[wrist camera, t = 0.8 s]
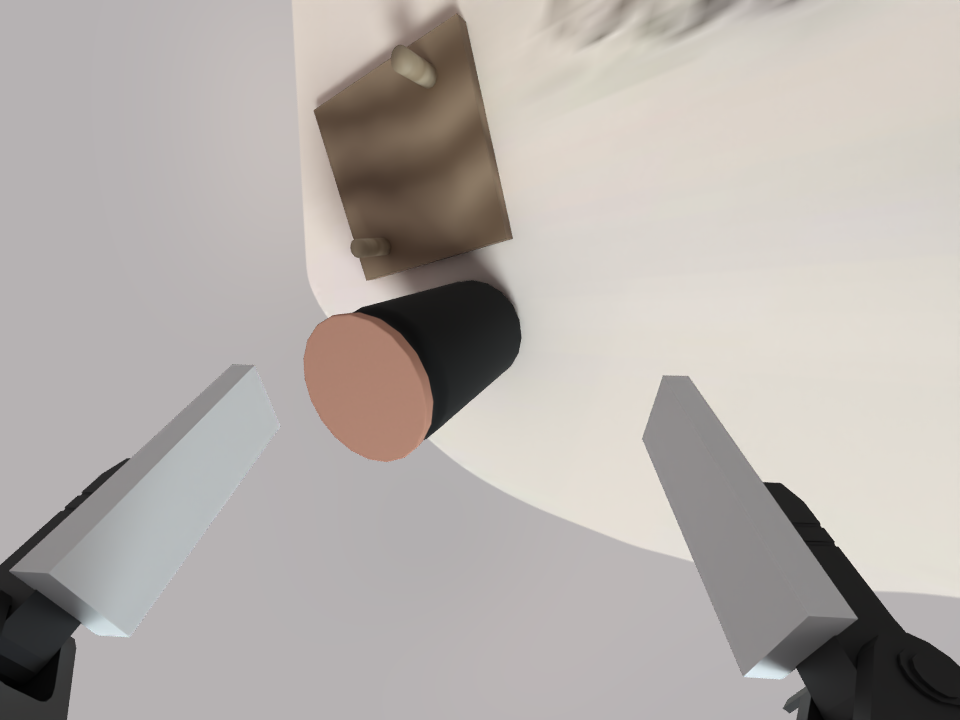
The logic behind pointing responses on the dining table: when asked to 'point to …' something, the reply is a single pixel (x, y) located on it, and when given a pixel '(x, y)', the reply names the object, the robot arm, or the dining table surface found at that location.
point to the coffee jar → (408, 364)
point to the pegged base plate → (416, 156)
